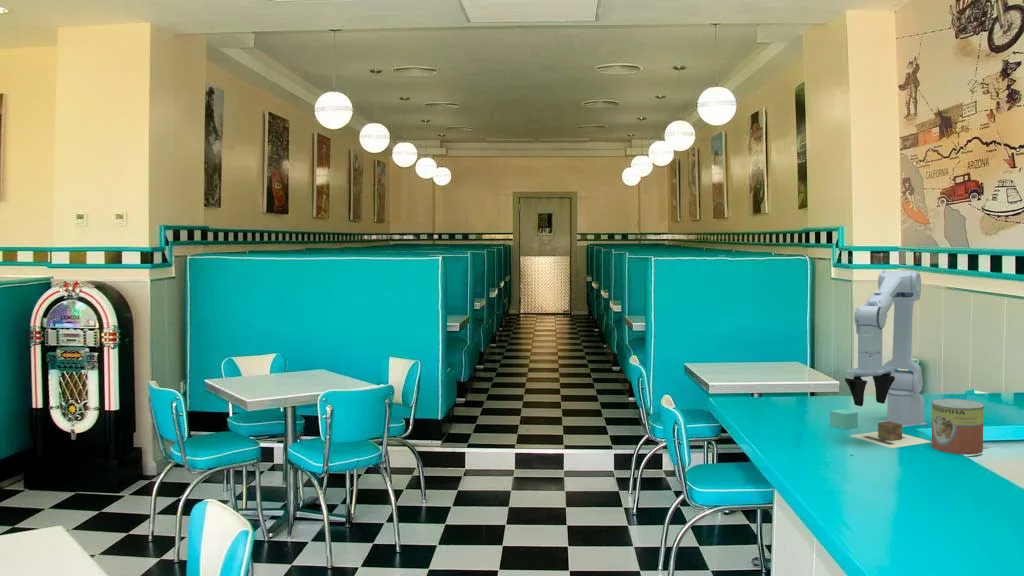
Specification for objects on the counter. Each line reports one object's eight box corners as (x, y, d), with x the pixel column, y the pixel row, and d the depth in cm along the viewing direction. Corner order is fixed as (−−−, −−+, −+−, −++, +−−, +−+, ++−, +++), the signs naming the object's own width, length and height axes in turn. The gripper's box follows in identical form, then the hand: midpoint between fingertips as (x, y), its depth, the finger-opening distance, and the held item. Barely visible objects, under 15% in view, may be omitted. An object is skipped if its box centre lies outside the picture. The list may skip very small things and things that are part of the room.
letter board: (888, 432, 214) (888, 429, 214) (932, 444, 201) (932, 441, 201) (848, 437, 209) (848, 435, 209) (891, 450, 196) (891, 448, 196)
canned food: (920, 448, 197) (921, 401, 196) (951, 443, 202) (952, 397, 201) (962, 459, 187) (962, 410, 186) (993, 453, 191) (994, 405, 191)
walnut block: (889, 436, 207) (889, 421, 207) (902, 439, 204) (902, 424, 203) (878, 437, 206) (878, 422, 206) (890, 441, 202) (890, 425, 202)
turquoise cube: (844, 426, 222) (844, 409, 221) (857, 430, 217) (857, 412, 217) (830, 428, 220) (830, 410, 220) (843, 432, 215) (843, 414, 215)
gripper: (860, 356, 195) (859, 409, 195) (904, 351, 200) (903, 404, 200) (839, 352, 201) (838, 404, 202) (882, 348, 206) (881, 399, 207)
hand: (869, 404), depth 202 cm, fingers open, 7 cm apart
